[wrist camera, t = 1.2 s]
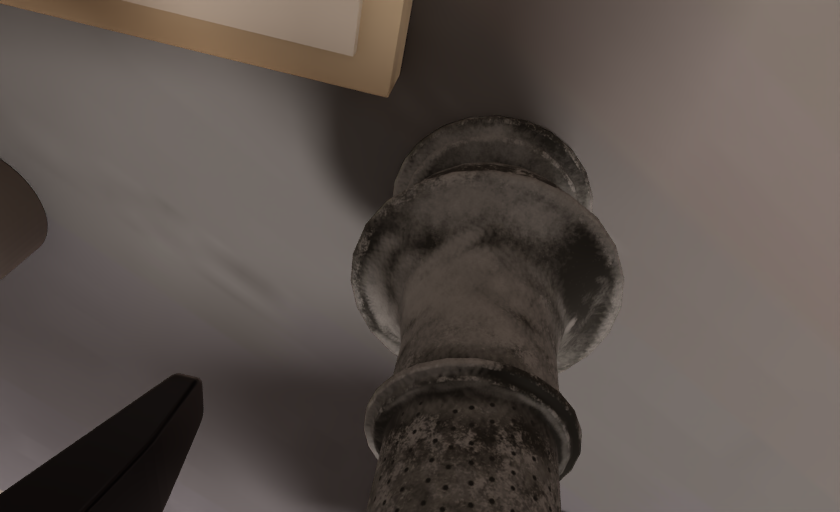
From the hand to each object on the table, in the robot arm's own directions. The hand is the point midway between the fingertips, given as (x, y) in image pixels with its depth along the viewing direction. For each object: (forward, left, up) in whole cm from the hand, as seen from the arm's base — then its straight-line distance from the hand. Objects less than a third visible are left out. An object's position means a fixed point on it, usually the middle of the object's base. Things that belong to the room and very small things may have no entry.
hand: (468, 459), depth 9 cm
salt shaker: (0, 0, -8) cm, 8 cm away
